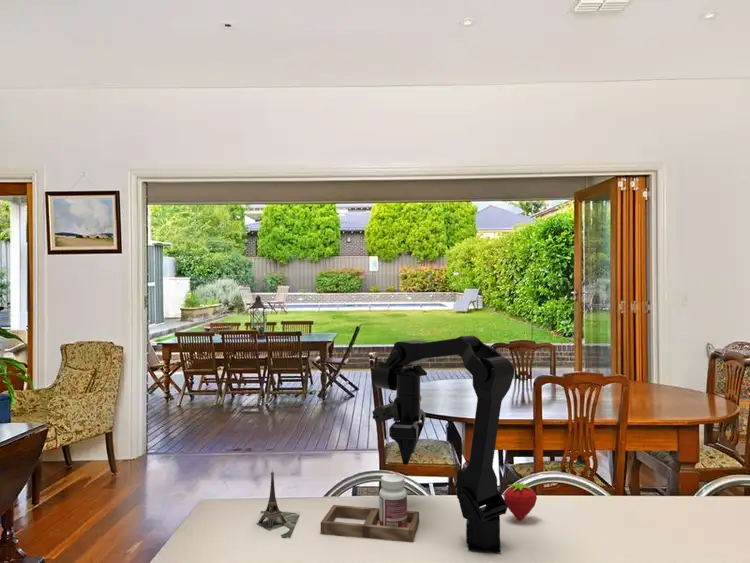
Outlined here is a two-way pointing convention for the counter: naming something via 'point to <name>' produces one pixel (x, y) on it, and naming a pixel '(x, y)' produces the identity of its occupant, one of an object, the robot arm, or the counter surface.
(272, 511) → the eiffel tower figurine
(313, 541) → the counter surface
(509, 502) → the strawberry
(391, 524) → the pill bottle
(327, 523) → the caddy
